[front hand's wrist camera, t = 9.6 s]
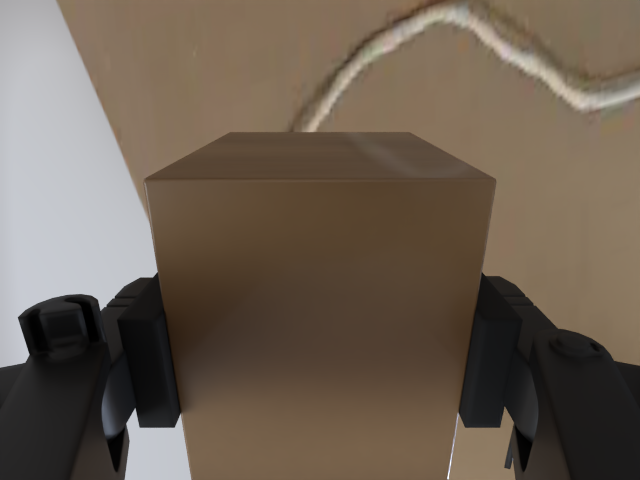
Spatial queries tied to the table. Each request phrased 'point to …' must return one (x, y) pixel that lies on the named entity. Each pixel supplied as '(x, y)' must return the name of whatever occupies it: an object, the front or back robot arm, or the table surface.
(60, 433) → the front robot arm
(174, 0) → the table surface
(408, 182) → the block
